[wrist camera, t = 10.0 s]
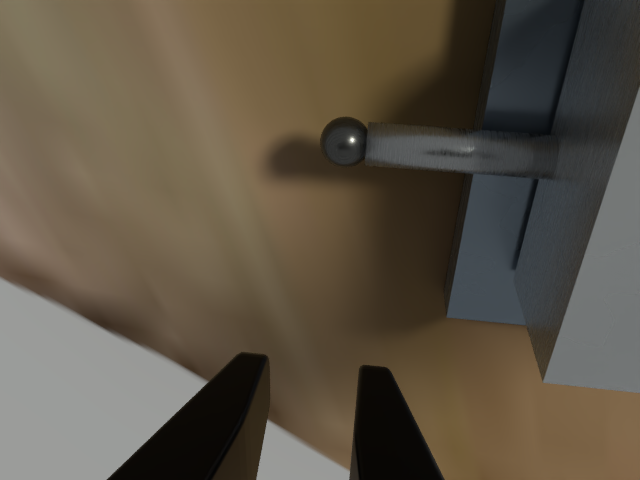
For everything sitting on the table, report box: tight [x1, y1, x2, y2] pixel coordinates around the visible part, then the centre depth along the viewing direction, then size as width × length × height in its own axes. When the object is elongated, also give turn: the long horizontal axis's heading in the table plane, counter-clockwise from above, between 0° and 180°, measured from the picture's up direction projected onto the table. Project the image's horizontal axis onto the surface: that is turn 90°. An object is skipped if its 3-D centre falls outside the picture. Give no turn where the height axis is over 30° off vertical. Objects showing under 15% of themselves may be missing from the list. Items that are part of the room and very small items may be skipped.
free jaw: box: [320, 0, 640, 393], centre depth 14 cm, size 9×9×5 cm
